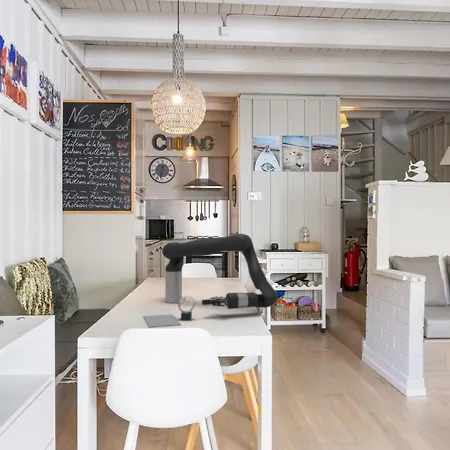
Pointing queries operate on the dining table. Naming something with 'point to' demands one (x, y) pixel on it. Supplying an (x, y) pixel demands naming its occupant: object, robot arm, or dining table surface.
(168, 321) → the mat
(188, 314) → the watch
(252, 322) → the dining table surface
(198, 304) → the dining table surface
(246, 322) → the dining table surface
